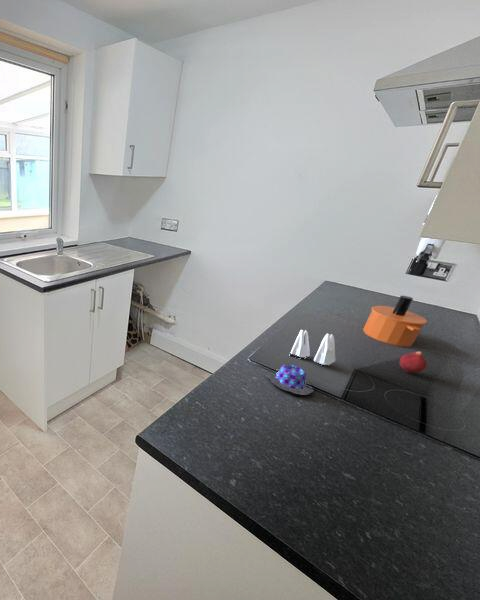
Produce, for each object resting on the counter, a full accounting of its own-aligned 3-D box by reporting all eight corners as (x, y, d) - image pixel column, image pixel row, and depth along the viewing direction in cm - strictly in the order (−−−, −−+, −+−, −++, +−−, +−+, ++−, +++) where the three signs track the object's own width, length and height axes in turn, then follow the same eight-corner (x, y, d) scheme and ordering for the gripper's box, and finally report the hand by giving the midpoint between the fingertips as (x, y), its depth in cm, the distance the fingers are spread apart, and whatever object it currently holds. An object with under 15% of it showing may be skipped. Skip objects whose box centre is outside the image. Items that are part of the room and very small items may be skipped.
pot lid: (404, 311, 126) (414, 292, 122) (437, 328, 112) (449, 308, 108) (361, 306, 128) (369, 287, 125) (388, 323, 114) (398, 302, 111)
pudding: (314, 404, 84) (321, 388, 82) (264, 386, 90) (269, 371, 88) (312, 381, 93) (318, 366, 91) (267, 367, 99) (272, 353, 97)
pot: (389, 327, 131) (400, 307, 127) (428, 352, 113) (442, 330, 109) (351, 323, 133) (360, 303, 130) (383, 347, 115) (395, 324, 112)
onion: (400, 375, 99) (412, 353, 96) (391, 365, 104) (402, 345, 101) (423, 380, 97) (436, 358, 94) (413, 370, 102) (425, 349, 99)
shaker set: (333, 365, 102) (346, 336, 98) (332, 371, 99) (345, 341, 95) (291, 351, 109) (301, 323, 105) (289, 355, 106) (299, 327, 102)
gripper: (460, 226, 92) (431, 280, 99) (456, 221, 103) (430, 270, 110) (425, 222, 97) (399, 274, 104) (424, 218, 108) (401, 265, 115)
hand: (415, 272), depth 107 cm, fingers open, 9 cm apart
